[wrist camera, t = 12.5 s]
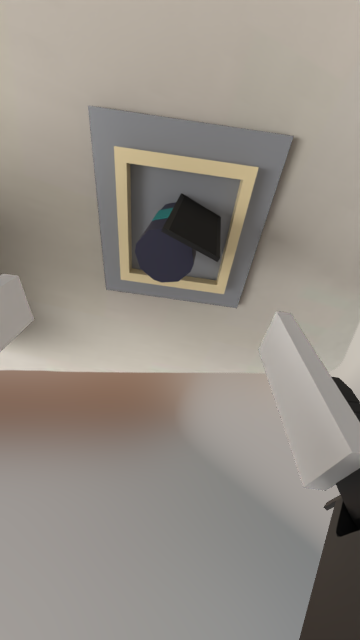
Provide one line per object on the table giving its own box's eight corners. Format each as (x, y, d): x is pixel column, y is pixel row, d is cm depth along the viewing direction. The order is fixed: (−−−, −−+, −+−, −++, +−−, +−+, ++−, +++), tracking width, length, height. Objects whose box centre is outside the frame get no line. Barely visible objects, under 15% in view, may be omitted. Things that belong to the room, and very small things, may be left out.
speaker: (189, 174, 23) (177, 198, 15) (221, 217, 25) (225, 256, 18) (144, 223, 27) (116, 261, 19) (175, 256, 29) (162, 302, 22)
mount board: (108, 286, 33) (102, 294, 31) (92, 107, 21) (80, 101, 19) (235, 304, 33) (238, 313, 31) (290, 137, 21) (299, 134, 19)
